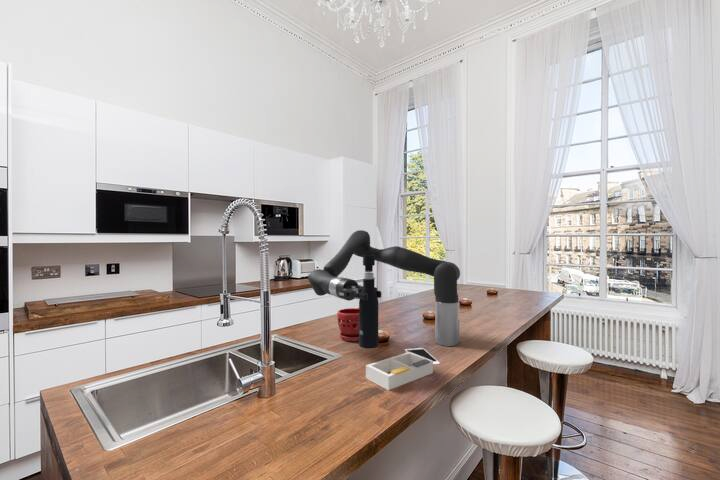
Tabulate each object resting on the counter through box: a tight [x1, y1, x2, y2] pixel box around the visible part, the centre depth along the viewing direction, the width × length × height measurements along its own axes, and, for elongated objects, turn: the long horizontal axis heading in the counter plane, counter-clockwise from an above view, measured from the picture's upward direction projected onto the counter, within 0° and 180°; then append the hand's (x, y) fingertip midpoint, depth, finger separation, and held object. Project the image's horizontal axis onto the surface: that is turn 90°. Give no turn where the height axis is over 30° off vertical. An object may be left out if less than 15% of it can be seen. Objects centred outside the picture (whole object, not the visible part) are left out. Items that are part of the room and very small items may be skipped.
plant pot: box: [336, 307, 359, 342], centre depth 144 cm, size 13×13×12 cm
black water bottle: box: [358, 255, 379, 350], centre depth 110 cm, size 6×6×30 cm
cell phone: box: [404, 347, 441, 366], centre depth 123 cm, size 8×16×1 cm, turn 11°
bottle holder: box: [365, 352, 434, 391], centre depth 106 cm, size 20×11×5 cm, turn 128°
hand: (373, 295), depth 108 cm, fingers closed on black water bottle, 5 cm apart
